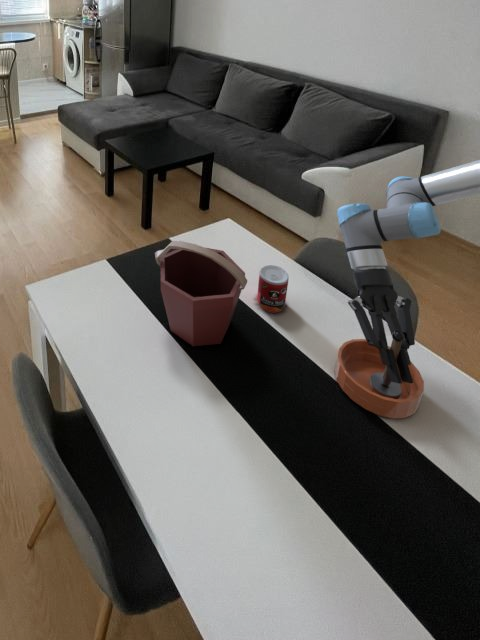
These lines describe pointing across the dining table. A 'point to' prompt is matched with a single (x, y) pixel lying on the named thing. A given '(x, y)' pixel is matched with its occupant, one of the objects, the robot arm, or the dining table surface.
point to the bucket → (199, 291)
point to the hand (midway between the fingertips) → (402, 382)
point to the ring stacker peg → (382, 380)
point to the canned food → (272, 288)
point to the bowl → (355, 374)
